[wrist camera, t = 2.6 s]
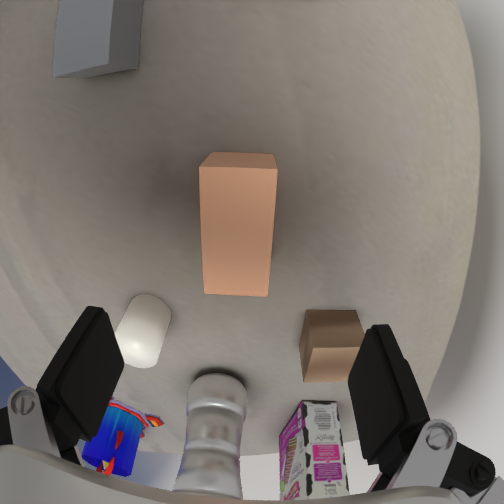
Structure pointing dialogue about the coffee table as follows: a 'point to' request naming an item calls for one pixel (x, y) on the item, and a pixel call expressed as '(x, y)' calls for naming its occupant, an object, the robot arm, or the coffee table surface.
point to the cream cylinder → (143, 330)
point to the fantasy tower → (118, 439)
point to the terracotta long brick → (237, 222)
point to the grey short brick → (96, 37)
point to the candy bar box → (312, 454)
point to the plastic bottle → (213, 438)
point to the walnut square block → (329, 344)
